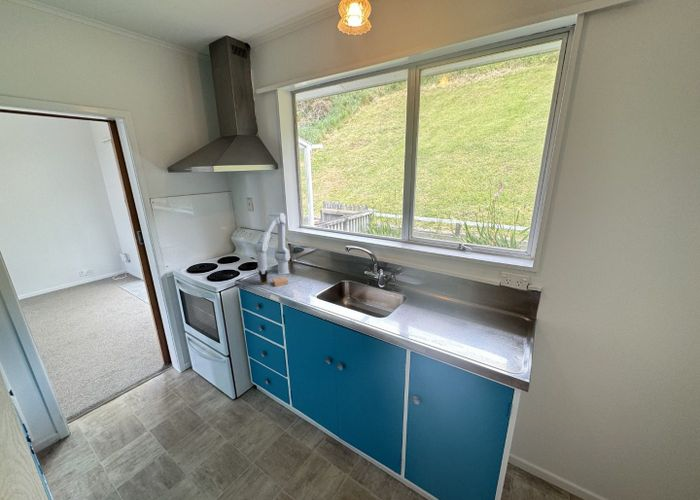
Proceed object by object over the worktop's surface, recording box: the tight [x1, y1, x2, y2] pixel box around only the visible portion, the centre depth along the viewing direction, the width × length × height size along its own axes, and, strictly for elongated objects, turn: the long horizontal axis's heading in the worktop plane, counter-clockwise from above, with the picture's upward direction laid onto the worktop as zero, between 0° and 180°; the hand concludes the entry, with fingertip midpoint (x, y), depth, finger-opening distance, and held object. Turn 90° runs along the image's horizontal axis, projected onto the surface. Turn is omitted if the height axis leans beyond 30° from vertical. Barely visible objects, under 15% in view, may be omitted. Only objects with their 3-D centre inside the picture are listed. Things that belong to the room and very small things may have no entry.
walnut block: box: [259, 276, 269, 285], centre depth 184 cm, size 4×4×5 cm
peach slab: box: [271, 276, 289, 287], centre depth 183 cm, size 8×8×3 cm
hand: (263, 280), depth 184 cm, fingers closed on walnut block, 4 cm apart
